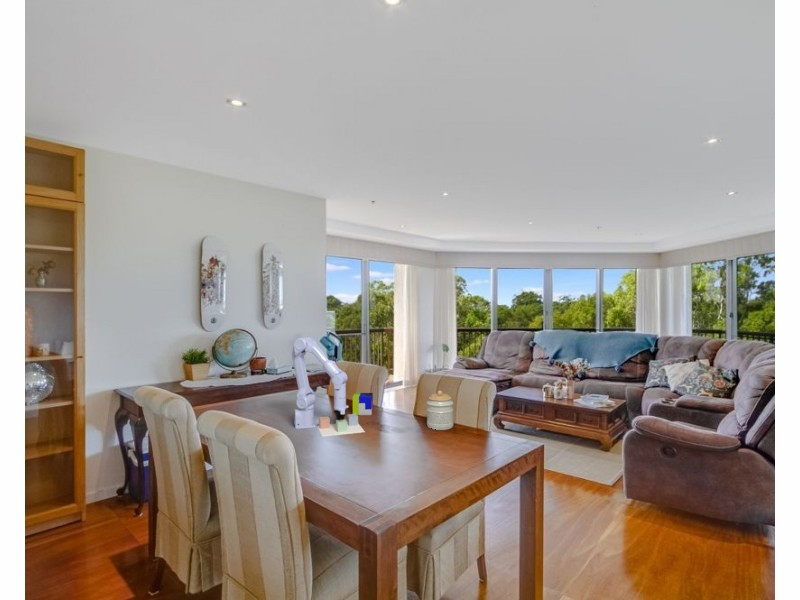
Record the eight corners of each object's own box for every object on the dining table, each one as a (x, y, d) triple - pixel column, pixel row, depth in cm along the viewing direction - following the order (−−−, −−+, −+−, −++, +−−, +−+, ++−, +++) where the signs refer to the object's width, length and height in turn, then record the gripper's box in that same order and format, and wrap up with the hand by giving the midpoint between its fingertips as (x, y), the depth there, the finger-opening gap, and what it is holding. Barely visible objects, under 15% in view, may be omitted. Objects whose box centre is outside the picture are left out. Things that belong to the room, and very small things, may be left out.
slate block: (349, 426, 210) (349, 416, 210) (347, 423, 214) (347, 414, 214) (358, 425, 211) (358, 416, 211) (356, 422, 215) (356, 413, 215)
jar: (453, 422, 215) (452, 387, 215) (453, 430, 202) (453, 393, 202) (427, 422, 216) (427, 387, 216) (426, 430, 203) (426, 393, 203)
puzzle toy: (371, 415, 230) (371, 397, 230) (352, 415, 230) (352, 397, 230) (372, 410, 240) (372, 392, 240) (355, 410, 240) (354, 393, 240)
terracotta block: (320, 429, 205) (320, 419, 205) (319, 426, 210) (319, 417, 210) (329, 428, 207) (329, 418, 207) (328, 425, 211) (328, 416, 211)
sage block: (337, 432, 200) (337, 422, 200) (336, 429, 204) (336, 420, 204) (347, 431, 201) (347, 421, 201) (345, 428, 205) (345, 419, 205)
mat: (322, 437, 194) (322, 436, 194) (317, 426, 211) (317, 425, 211) (365, 432, 200) (365, 431, 200) (356, 422, 217) (356, 421, 217)
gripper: (351, 400, 201) (351, 429, 201) (345, 393, 214) (345, 420, 214) (336, 401, 198) (336, 430, 198) (331, 394, 212) (331, 422, 212)
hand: (340, 425), depth 206 cm, fingers closed
